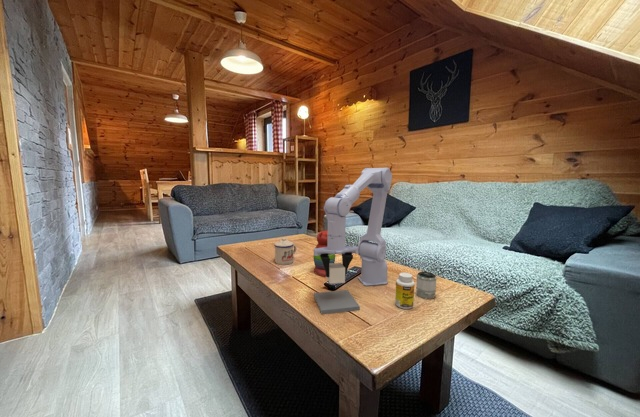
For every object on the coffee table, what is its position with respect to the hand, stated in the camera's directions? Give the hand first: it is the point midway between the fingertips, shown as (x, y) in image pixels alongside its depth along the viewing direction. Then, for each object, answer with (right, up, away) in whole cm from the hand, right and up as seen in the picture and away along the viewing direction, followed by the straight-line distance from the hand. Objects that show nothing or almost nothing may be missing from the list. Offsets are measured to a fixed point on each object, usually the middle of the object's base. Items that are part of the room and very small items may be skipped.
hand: (335, 275), depth 86 cm
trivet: (0, -9, -1) cm, 9 cm away
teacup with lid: (-21, -4, +40) cm, 46 cm away
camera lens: (+31, -8, +5) cm, 33 cm away
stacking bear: (-3, -5, +27) cm, 28 cm away
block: (0, -2, +1) cm, 2 cm away
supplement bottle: (+22, -9, -2) cm, 24 cm away
